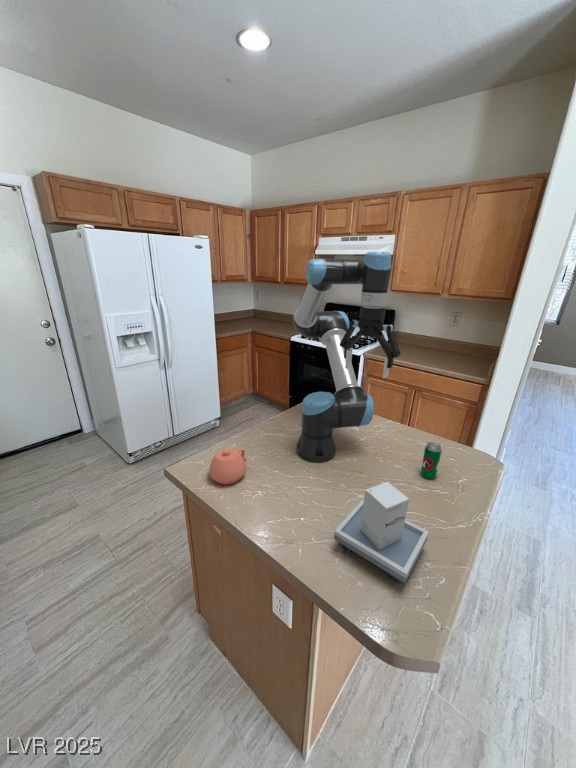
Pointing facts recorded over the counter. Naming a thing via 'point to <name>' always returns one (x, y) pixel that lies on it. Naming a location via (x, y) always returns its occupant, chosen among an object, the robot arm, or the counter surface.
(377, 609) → the counter surface
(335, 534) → the shallow rimmed tray
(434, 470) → the soda can
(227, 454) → the sugar bowl
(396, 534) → the supplement box
